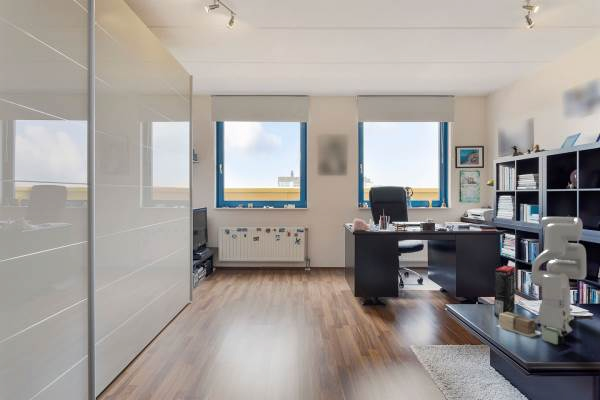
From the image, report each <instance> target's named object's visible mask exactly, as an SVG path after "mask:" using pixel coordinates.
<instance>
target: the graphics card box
mask: <svg viewBox="0 0 600 400" xmlns="http://www.w3.org/2000/svg"><path fill="white" fill-rule="evenodd" d="M515 297H516V266H514V265H513V266H512V265H503V266H500V267H498V268H496V269H495V270H494V309H493V310H494V311H493V314H494V315H493V316H494V317H498V318H499V314H500V313H504V312H510V313H514V314H515V307H516V305H515V303H516V302H515V301H516V300H515V299H516V298H515Z"/></svg>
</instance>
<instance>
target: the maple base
mask: <svg viewBox="0 0 600 400" xmlns="http://www.w3.org/2000/svg"><path fill="white" fill-rule="evenodd" d="M521 316H522V315H520V314H517V313H515V312H514V313H510V312H504V313H500V314H499V317H498V325H499V326H502V327H505V328H509V329H512V330H514V329H515V318H518V317H521Z"/></svg>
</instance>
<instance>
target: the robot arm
mask: <svg viewBox="0 0 600 400" xmlns="http://www.w3.org/2000/svg"><path fill="white" fill-rule="evenodd" d="M540 224H541V227H542V229H543V230H544V238H543V239H544V243H543V245H544V246H543V251H542V252H541V253H539V254H538V255H537V256H536V257H535V258H534V260H533V262H532V265H531V266H532V267H531V275H530V276H531V278H530V279H531V282H532V285H533V284H534V285H535V286H536V287H541V302H540V304H539V309H538V316H537V317H535V318H534V321H535V325H537V327H538V328H539V330H540V332H541V334H540V336H541V337H542V329H543V328H547V327H552V328H555V329H557V330H558V333H559V336H558V344H557V345H561V344H564V343H565V336H567V335H568V334H569V333H570V332H572V331H573V329H572V327H571V326H570V325H569V324H567V317H568V318H570V319H571V320H570V321H572V320H575V317H574V315H573V314H571V312H573V308H571V286H570V284H569V283H570V281H569V279H570V280H572V279H573V280H584V279H586V277H587V251H586V248H585V246H584V245H583V244H581V243H575V242H579V241H580V240H581V239H582V235H583V221H582V219H581V218H580V217H577V216H575V217H574V216H544V217H542V218H541V219H540ZM569 241H571V242H569ZM545 262H547V263H546V270H540V266H541V265H542V264H544V263H545ZM563 328H566V329H567V330H565V331H564V329H563ZM566 334H567V335H566Z"/></svg>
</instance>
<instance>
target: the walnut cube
mask: <svg viewBox="0 0 600 400" xmlns="http://www.w3.org/2000/svg"><path fill="white" fill-rule="evenodd" d="M534 319H535V318H534ZM534 319H533V318H530V317H526V316H522V315H521V317H518V318H515V330H516V331H519V332H522V333H525V334H531V333H534V332H535V330H536V323H535V321H534Z"/></svg>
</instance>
